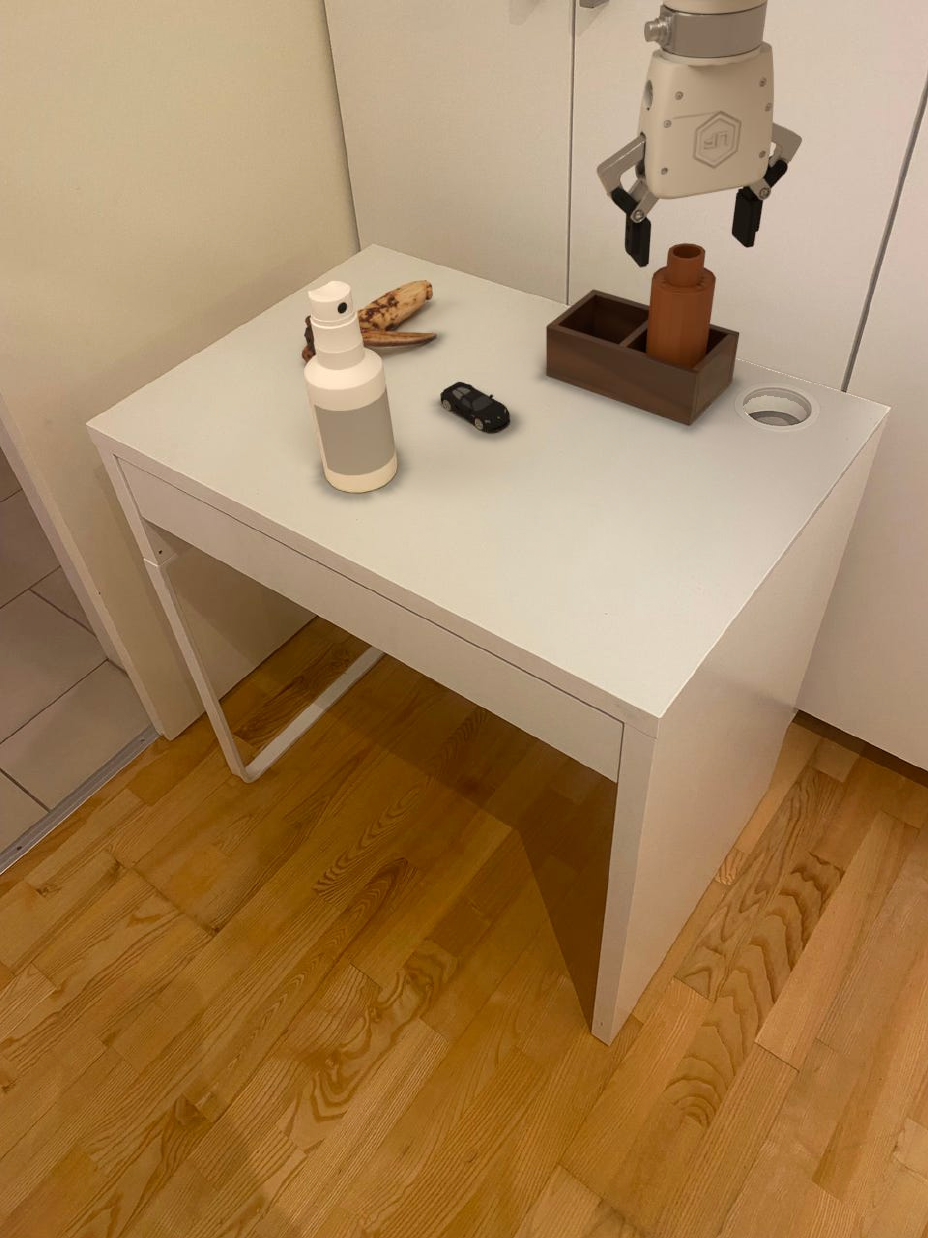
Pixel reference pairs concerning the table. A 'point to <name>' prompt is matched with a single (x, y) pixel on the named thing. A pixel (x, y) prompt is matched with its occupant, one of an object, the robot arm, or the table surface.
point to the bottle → (681, 307)
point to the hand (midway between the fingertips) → (690, 250)
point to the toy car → (475, 407)
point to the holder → (634, 359)
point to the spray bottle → (348, 396)
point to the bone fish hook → (385, 319)
